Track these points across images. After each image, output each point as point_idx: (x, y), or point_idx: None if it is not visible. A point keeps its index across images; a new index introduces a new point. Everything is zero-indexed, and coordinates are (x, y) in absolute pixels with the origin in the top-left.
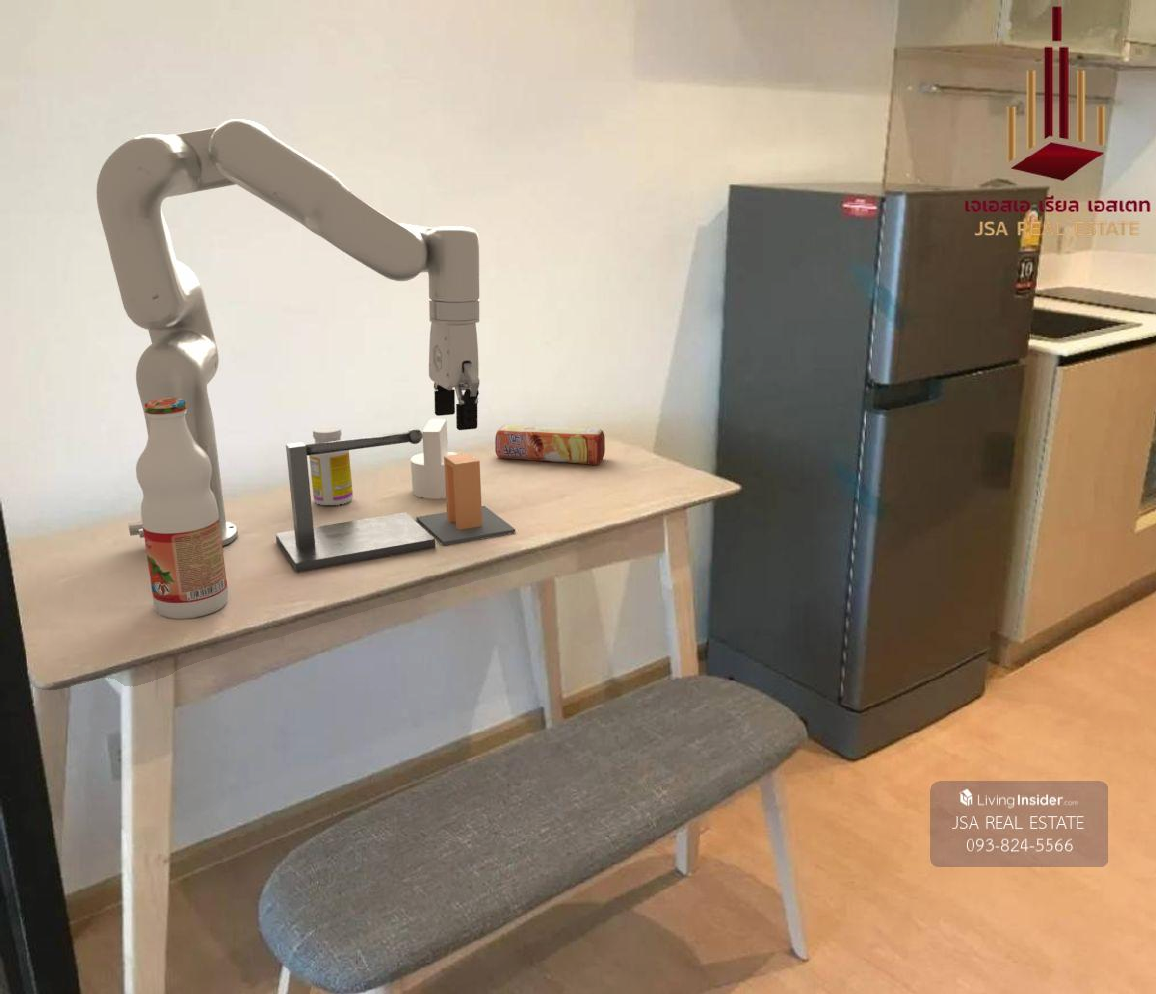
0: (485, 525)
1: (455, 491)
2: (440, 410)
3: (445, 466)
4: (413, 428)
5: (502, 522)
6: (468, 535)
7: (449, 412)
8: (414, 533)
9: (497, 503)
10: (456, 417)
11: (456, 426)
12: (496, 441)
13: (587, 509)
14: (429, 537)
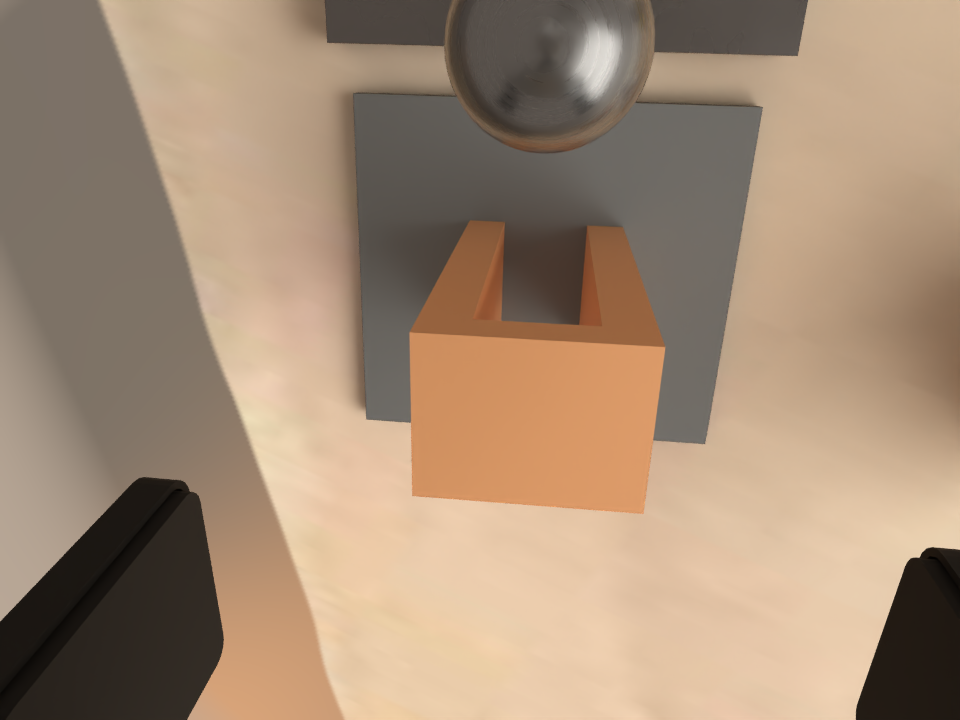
0: None
1: (465, 271)
2: (923, 631)
3: (632, 318)
4: (561, 38)
5: None
6: (381, 229)
7: (875, 692)
8: None
9: (738, 507)
10: (88, 566)
11: (161, 490)
12: None
13: (479, 703)
14: (357, 25)
